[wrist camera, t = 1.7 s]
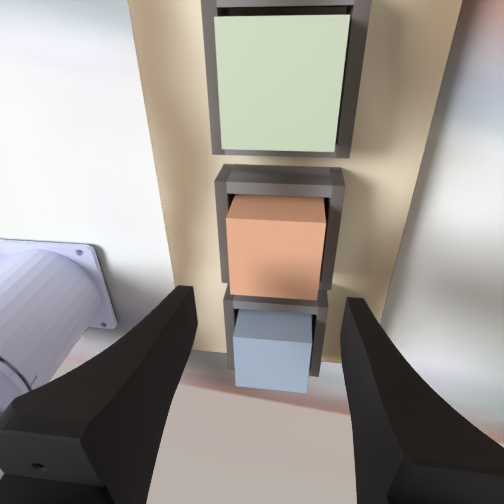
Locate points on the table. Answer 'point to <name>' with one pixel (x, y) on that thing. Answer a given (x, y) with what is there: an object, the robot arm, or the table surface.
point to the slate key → (272, 350)
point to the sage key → (280, 80)
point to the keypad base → (292, 153)
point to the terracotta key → (275, 245)
